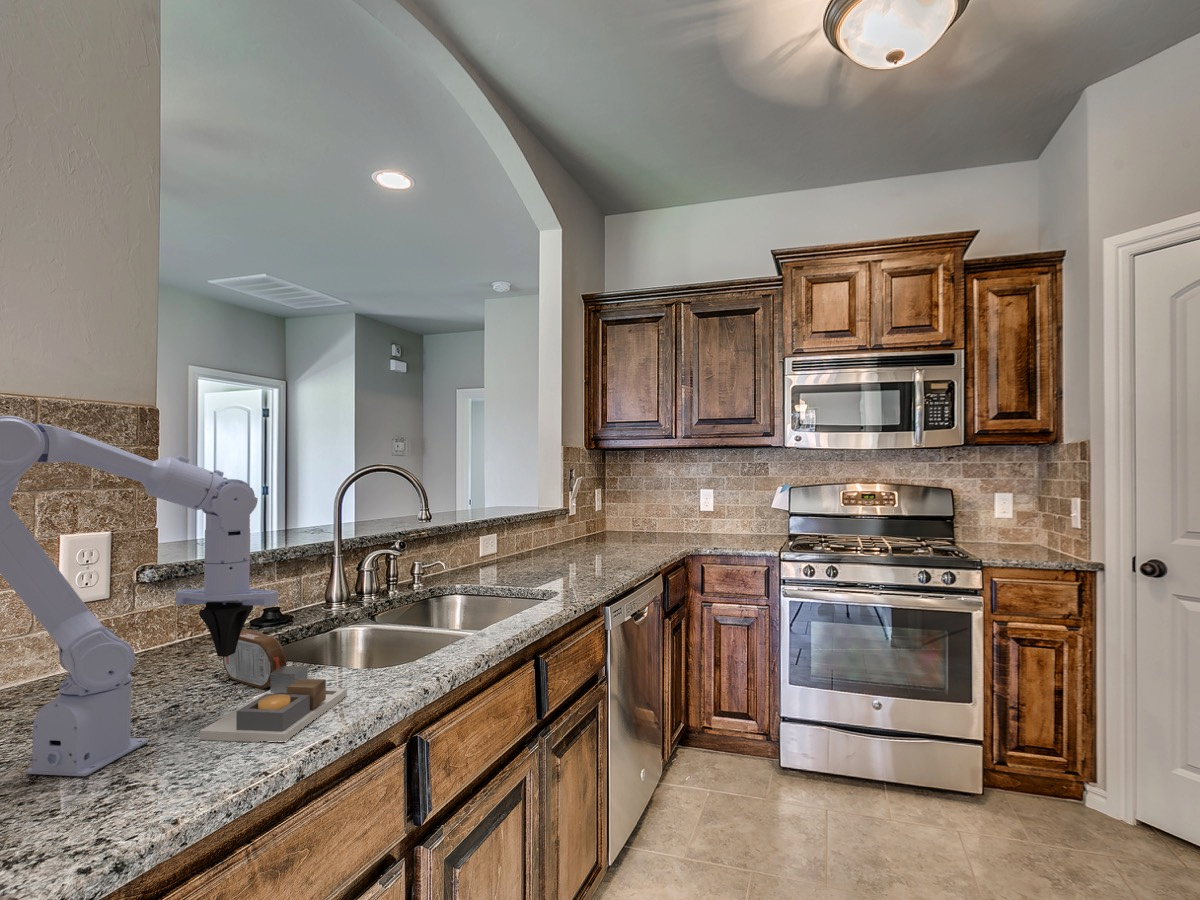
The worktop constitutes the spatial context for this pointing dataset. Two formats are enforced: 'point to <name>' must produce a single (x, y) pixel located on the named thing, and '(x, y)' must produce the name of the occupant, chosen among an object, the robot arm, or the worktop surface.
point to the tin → (255, 659)
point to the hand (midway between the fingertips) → (226, 654)
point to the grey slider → (286, 677)
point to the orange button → (274, 702)
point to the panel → (270, 719)
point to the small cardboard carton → (309, 690)
